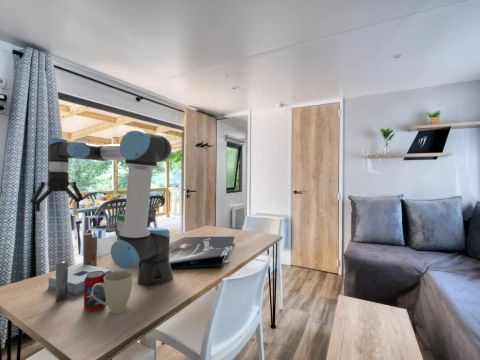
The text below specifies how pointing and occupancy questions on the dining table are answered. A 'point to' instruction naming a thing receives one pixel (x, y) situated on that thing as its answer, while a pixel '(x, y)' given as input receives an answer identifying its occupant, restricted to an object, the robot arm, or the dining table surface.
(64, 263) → the pin
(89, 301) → the beverage can
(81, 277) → the bore block
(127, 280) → the mug
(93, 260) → the wooden block
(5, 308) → the dining table surface
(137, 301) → the dining table surface
